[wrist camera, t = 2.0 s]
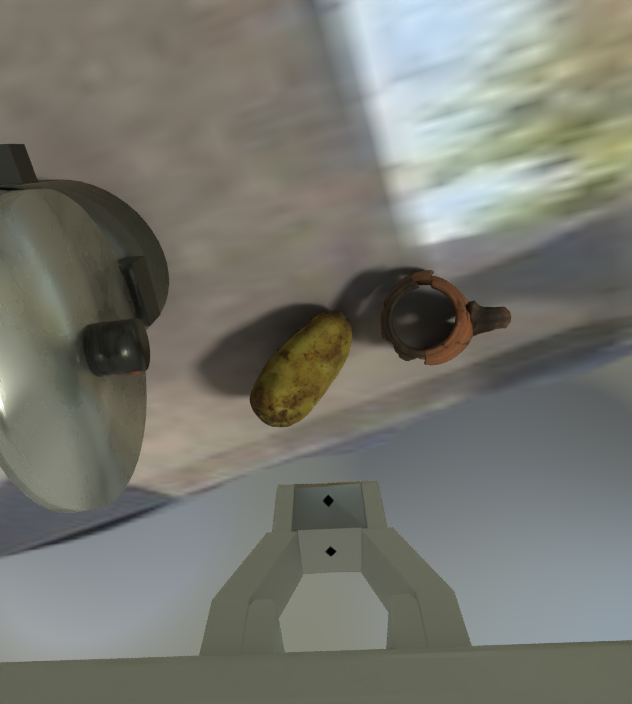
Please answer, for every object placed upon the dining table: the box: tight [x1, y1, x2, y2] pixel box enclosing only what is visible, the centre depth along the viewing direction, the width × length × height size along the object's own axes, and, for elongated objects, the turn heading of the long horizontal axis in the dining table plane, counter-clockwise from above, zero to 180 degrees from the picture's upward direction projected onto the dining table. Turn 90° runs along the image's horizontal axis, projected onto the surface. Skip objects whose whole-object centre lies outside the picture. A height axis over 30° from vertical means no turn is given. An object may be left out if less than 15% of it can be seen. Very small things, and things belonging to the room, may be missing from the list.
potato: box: [250, 310, 352, 427], centre depth 39 cm, size 8×13×8 cm, turn 121°
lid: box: [0, 189, 150, 513], centre depth 22 cm, size 17×17×3 cm
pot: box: [0, 144, 169, 330], centre depth 34 cm, size 21×17×10 cm
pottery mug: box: [381, 270, 511, 365], centre depth 38 cm, size 12×10×8 cm
